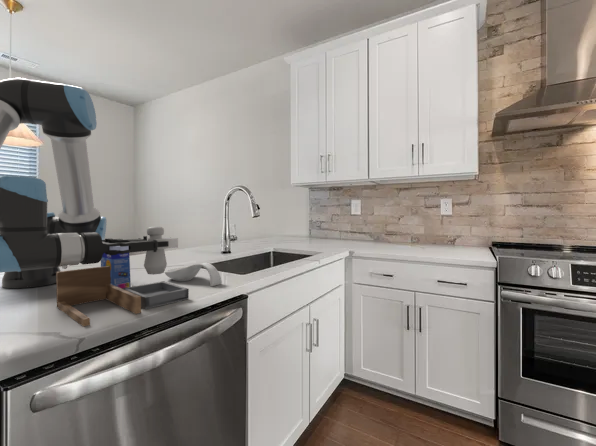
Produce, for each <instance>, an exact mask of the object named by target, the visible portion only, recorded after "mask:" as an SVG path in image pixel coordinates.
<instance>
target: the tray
mask: <svg viewBox="0 0 596 446" xmlns="http://www.w3.org/2000/svg"><path fill="white" fill-rule="evenodd" d="M122 289H124V290H126V291H129V292H131V293H134V294H136V295H139V296H141V309H145V310H147V309H152V308H157V307H159V306H165V305H169V304H173V303H177V302H182V301H185V300H189V291H190V290H189V288H187V287H184V286H180V285H178V284H174V283H172V282H169V281H168V282H167V281H158V282H153V283H152V282H150V283H146V284H139V285H133V286H131V287H127V288H122Z"/></svg>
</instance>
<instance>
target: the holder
mask: <svg viewBox="0 0 596 446" xmlns="http://www.w3.org/2000/svg"><path fill="white" fill-rule="evenodd" d="M55 285H56V308H57V309H59V310H60V311H62V312H63V313H64V314H66V315H67V316H68V317H70V318H71V319H72V320H73V321H75V322H76V323H78V324H79V325H81V326H82V327H86V326H90V325H91V319H90V318H91V317H89V316H87V315H85V314H84V313H83V312H81V311H79V310H78V309H77V308H75V307H73V306H75V305H82V304H86V303H93V302H98V301H102V300H107V301H109V302H111V303H113V304H115V305H117V306H118V307H120V308H124V309H125V310H127V311H129V312H131V313H132V314H136V315H137V314H140V313H142V307H141V296H139V295H136V294H134V293H131V292H129V291H126V290H124V289H121V288H119V287H117V286H114V285H112V284H111V283H110V266H103V267H101V266H97V267H87V268H79V269H77V268H76V269H70V270H69V269H68V270H60V272H56V283H55Z"/></svg>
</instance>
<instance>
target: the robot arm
mask: <svg viewBox="0 0 596 446" xmlns="http://www.w3.org/2000/svg"><path fill="white" fill-rule="evenodd" d="M20 124H21V125H22V124H31V125H39V126H41V127H42V133H43V134H44V135H45V136H46V137H48V138H49V139H50V142H51V148H52V155H53V160H54V166H55V170H56V176H57V183H58V189H59V195H60V201H61V207H62V210H61V211H59V212H58V214H57V216H56V213H55V212H52V211H51V212H48V203H49V200H48V197H47V196H48V193H47V184H46V182H45V181H44V180H43V179H41V178H37V177H31V176H18V175H17V176H14V175H11V176H8V175H6V176H3V175H2V176H0V273H4V274H3V276H2V279H1V286H2V288H4V289H26V288H37V287H45V286H49V285H54V284H56V272H60V271H61V268H62V269H63V270H66V269H67V268H68V266H69V267H70V266H78V265H80V264H81V265H91V264H93V265H94V264H98V263H101V259H102V255H103V254H104V253H105V254H109V255H117V254H124V253H129V254H131V253H141V252H147V251H152V250H154V252H157V250H158V249H164V250H166V249H177V248H179V238H178V237H170V236H169V237H162V239H154V240H149V238H148V235H146V236H145V235H143V238H128V239H127V238H126V239H123V238H111V237H110V238H105V237H106V231H107V217H105V216H101V212H100V210H99V209H98V208H96V207H95V205H94V203H95V202H94V196H93V187H92V180H91V171H90V164H89V163H90V162H89V155H88V153H89V152H88V143H87V140H88V139H89V138H90V137H91V136H92V131H94V130H96V129H97V115H96V109H95V106H94V102H93V100H92V96H91V95H90V94H89V92H88V91H87V90H86V89H85V88H83V87H80V86H76V85H70V84H66V83H59V82H51V81H44V80H43V81H41V80H36V79H28V78H24V77H22V78H21V77H15V78H14V77H13V78H7V79H6V78H4V79H2V80H0V149H1V147H2V146H3V144H4V142H5V140H6V138H7V137H8V134H9V133H10V132H11V131H13V130H16V129H17V128H18V127H19V125H20Z"/></svg>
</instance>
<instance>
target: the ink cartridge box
mask: <svg viewBox="0 0 596 446" xmlns="http://www.w3.org/2000/svg"><path fill="white" fill-rule="evenodd" d="M130 257H131V256H130V253H124V254H117V255H109V254H105V253H104V254H103V255H102V259H101V261H100V267H103V266H110V283H111V284H112V285H114V286H117V287H119V288H121V289H122V288H127V287H132V286H131V285H132V284H131V281H132V280H131V261H130V260H131V259H130Z"/></svg>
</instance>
